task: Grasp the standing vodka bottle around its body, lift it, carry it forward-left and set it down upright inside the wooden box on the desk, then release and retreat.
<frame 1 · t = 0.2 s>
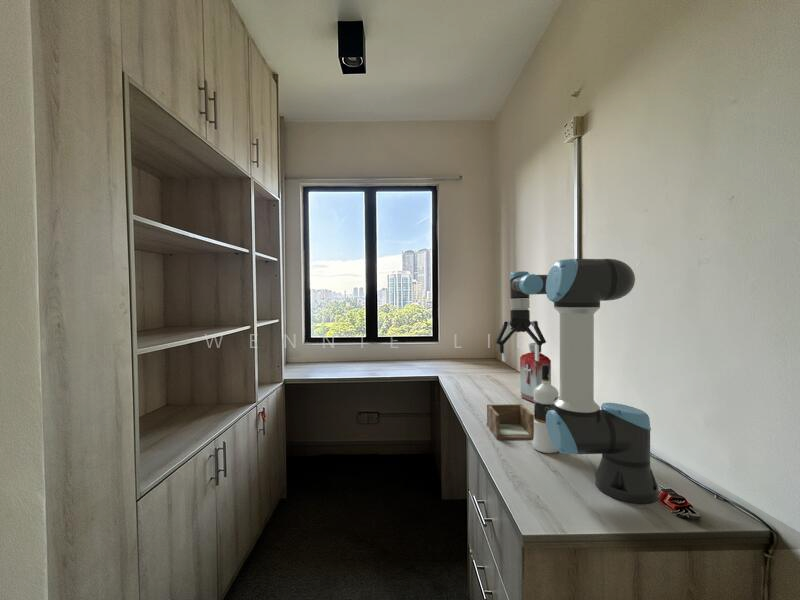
hand: (520, 360, 152), 28 cm above the table, fingers open, 13 cm apart
bottle: (535, 401, 193), on the table
vodka: (546, 449, 132), on the table
wooden box: (509, 431, 149), on the table
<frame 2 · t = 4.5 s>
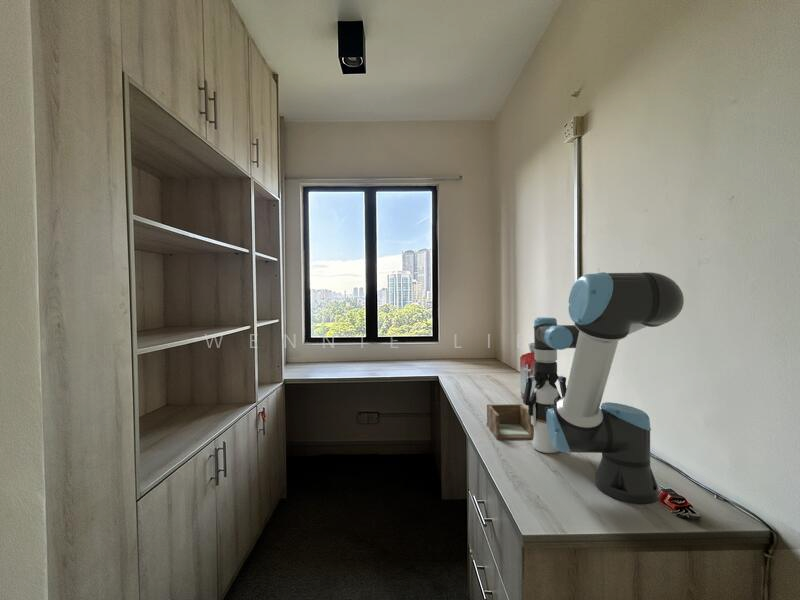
hand: (546, 424, 132), 9 cm above the table, fingers closed on vodka, 8 cm apart
vodka: (546, 449, 132), on the table, touching gripper
everything else where it was.
when the fingers open (11 cm above the table, at t = 10.4 s): vodka stays where it is, resting on wooden box.
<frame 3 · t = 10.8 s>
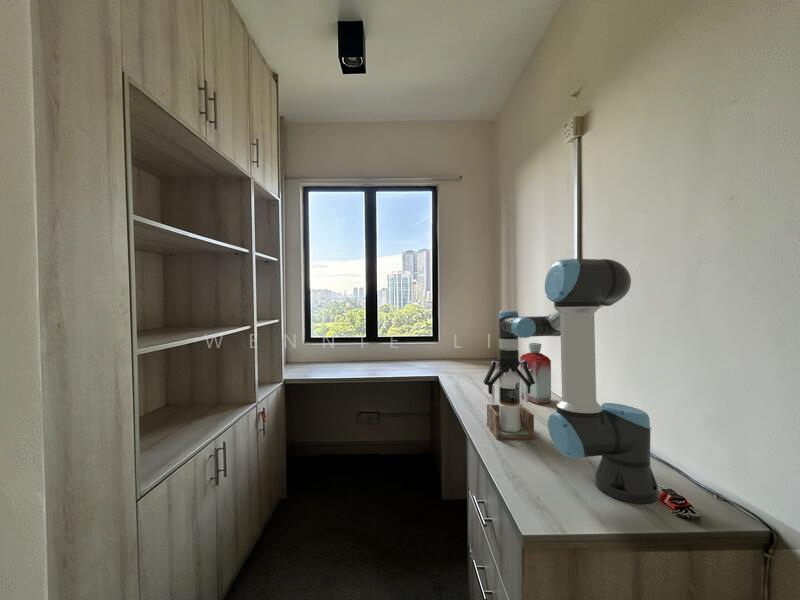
hand: (509, 401, 149), 12 cm above the table, fingers open, 13 cm apart
vodka: (509, 429, 149), point 1 cm above the table, touching wooden box
everything else where it was.
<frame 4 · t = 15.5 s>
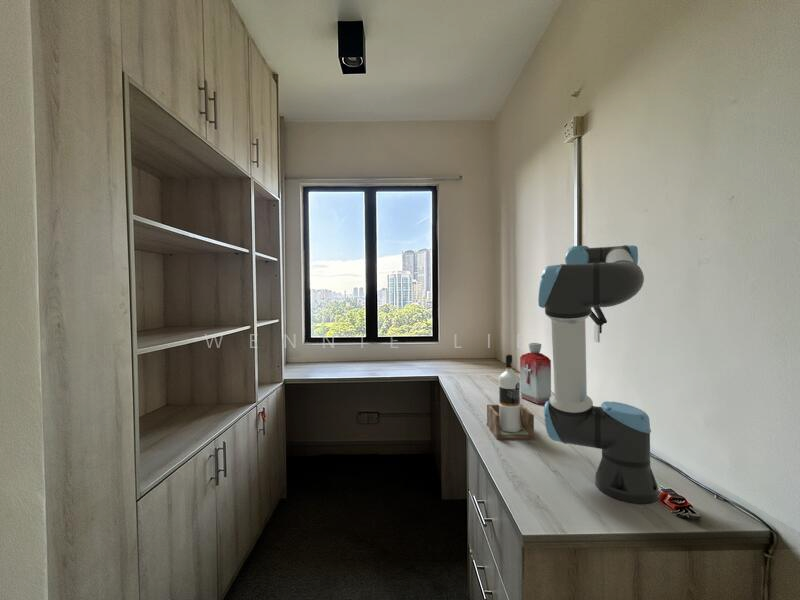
hand: (579, 342, 142), 37 cm above the table, fingers open, 13 cm apart
nothing on the table moved.
at the end: vodka 0.1 cm from the wooden box (horizontally); vodka tilted 0°; the gripper is holding nothing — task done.
